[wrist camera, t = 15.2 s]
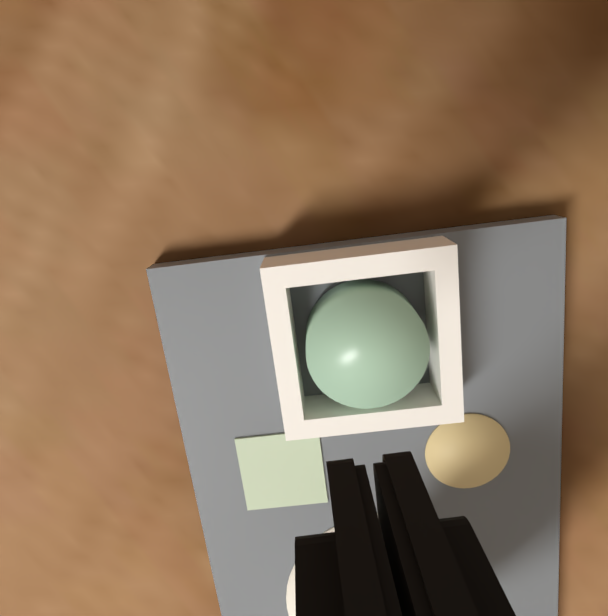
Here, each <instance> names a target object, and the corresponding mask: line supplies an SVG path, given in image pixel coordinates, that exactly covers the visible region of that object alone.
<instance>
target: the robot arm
mask: <svg viewBox="0 0 608 616" xmlns="http://www.w3.org/2000/svg"><path fill="white" fill-rule="evenodd" d="M326 465H327V473H328V481H329V489H330V497H331V506H332V514H333V522H334V530H335V532H330V533H322V534H313V535H305V536H297V537H295V605H296V616H516V615H515V613H514V611H513V609H512V607H511V605H510V603H509V601H508V599H507V596H506V594H505V592H504V590H503V588H502V586H501V584H500V582H499V580H498V578H497V576H496V574H495V572H494V570H493V568H492V566H491V564H490V562H489V560H488V558H487V556H486V554H485V552H484V550H483V548H482V546H481V544H480V542H479V540H478V538H477V536H476V534H475V532H474V530H473V528H472V526H471V524H470V522H469V521H468V519H467V518H466V517H465V516H458V517H450V518H442V519H439V518H438V516H437V513H436V511H435V508H434V506H433V504H432V501H431V499H430V496H429V494H428V491H427V489H426V487H425V484H424V482H423V479H422V477H421V475H420V472H419V470H418V467H417V465H416V462H415V460H414V458H413V455H412V453H411V452H410V451H405V452H397V453H389V454H383V455H382V462H379V463H373V471H374V481H375V491H376V501H377V511H378V515H377V511H376V507H375V503H374V499H373V495H372V491H371V487H370V483H369V479H368V475H367V471H366V467H365V464H363V465H354V460H353V458H350V459H342V460H334V461H326Z"/></svg>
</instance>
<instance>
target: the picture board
mask: <svg viewBox="0 0 608 616" xmlns="http://www.w3.org/2000/svg"><path fill="white" fill-rule="evenodd" d="M565 260H566V218H565V217H561V216H557V215H548V216H539V217H531V218H523V219H515V220H507V221H499V222H491V223H482V224H474V225H466V226H458V227H450V228H442V229H434V230H425V231H417V232H409V233H401V234H393V235H385V236H377V237H368V238H360V239H352V240H344V241H336V242H328V243H320V244H311V245H303V246H295V247H287V248H279V249H271V250H263V251H254V252H246V253H238V254H230V255H222V256H214V257H206V258H197V259H189V260H181V261H173V262H165V263H157V264H153V265H151V266H150V267H149V268H147V269H146V271H147V276H148V280H149V285H150V289H151V294H152V298H153V303H154V308H155V312H156V317H157V321H158V326H159V331H160V335H161V340H162V344H163V349H164V354H165V358H166V363H167V367H168V372H169V376H170V381H171V386H172V390H173V395H174V399H175V404H176V409H177V413H178V418H179V422H180V427H181V432H182V436H183V441H184V445H185V450H186V454H187V459H188V464H189V468H190V473H191V477H192V482H193V487H194V491H195V496H196V500H197V505H198V510H199V514H200V519H201V523H202V528H203V532H204V537H205V542H206V546H207V551H208V555H209V560H210V565H211V569H212V574H213V578H214V583H215V588H216V592H217V597H218V601H219V606H220V610H221V615H222V616H296V605H295V537H297V536H305V535H313V534H322V533H330V532H335V530H334V522H333V514H332V506H331V497H330V489H329V481H328V473H327V465H326V461H334V460H342V459H350V458H353V460H354V465H363V464H365V467H366V471H367V475H368V479H369V483H370V487H371V491H372V495H373V499H374V503H375V507H376V511H377V501H376V491H375V481H374V471H373V463H379V462H382V455H383V454H389V453H397V452H405V451H410V452H411V453H412V455H413V458H414V460H415V462H416V465H417V467H418V470H419V472H420V475H421V477H422V479H423V482H424V484H425V487H426V489H427V491H428V494H429V496H430V499H431V501H432V504H433V506H434V508H435V511H436V513H437V516H438V518H439V519H442V518H450V517H458V516H465V517H466V518H467V519H468V521H469V522H470V524H471V526H472V528H473V530H474V532H475V534H476V536H477V538H478V540H479V542H480V544H481V546H482V548H483V550H484V552H485V554H486V556H487V558H488V560H489V562H490V564H491V566H492V568H493V570H494V572H495V574H496V576H497V578H498V580H499V582H500V584H501V586H502V588H503V590H504V592H505V594H506V596H507V599H508V601H509V603H510V605H511V607H512V609H513V611H514V613H515V615H516V616H558V585H559V538H560V492H561V446H562V399H563V353H564V307H565ZM358 279H370V280H376V281H380V282H383V283H386V284H388V285H390V286H392V287H394V288H395V289H397V290H398V291H400V292H401V293H402V294H403V295H404V296H405V297H406V298H407V300H408V301H409V302H410V304H411V305H412V307H413V308H414V310H415V311H416V312H417V314H418V315H419V317H420V318H421V320H422V322H423V323H424V325H425V328H426V330H427V333H428V336H429V342H430V356H429V362H428V365H427V368H426V371H425V373H424V375H423V377H422V378H421V380H420V381H419V383H418V384H417V385H416V386H415V388H414V389H413V390H412V391H411V392H409V393H408V394H407V395H406V396H404V397H403V398H401V399H400V400H398V401H396V402H394V403H392V404H389V405H386V406H383V407H378V408H370V409H361V408H354V407H349V406H346V405H343V404H340V403H338V402H336V401H334V400H333V399H331V398H329V397H328V396H327V395H326V394H324V393H323V392H322V391H321V390H320V389H319V388H318V386H317V385H316V384H315V382H314V381H313V379H312V377H311V375H310V373H309V370H308V367H307V362H306V326H307V321H308V318H309V315H310V313H311V311H312V309H313V307H314V305H315V304H316V303H317V301H318V300H319V299H320V298H321V297H322V296H323V295H324V294H325V293H326V292H327V291H329V290H330V289H332V288H333V287H335V286H337V285H339V284H341V283H344V282H347V281H351V280H358ZM377 515H378V511H377Z"/></svg>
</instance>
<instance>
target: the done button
mask: <svg viewBox="0 0 608 616" xmlns="http://www.w3.org/2000/svg"><path fill="white" fill-rule="evenodd" d="M429 356H430V342H429V336H428V333H427V330H426V328H425V325H424V323H423V322H422V320H421V318H420V317H419V315H418V314H417V312H416V311H415V310H414V308H413V307H412V305H411V304H410V302H409V301H408V300H407V298H406V297H405V296H404V295H403V294H402V293H401V292H400V291H398V290H397V289H395V288H394V287H392V286H390V285H388V284H386V283H383V282H380V281H376V280H370V279H358V280H351V281H347V282H344V283H341V284H339V285H337V286H335V287H333V288H332V289H330V290H329V291H327V292H326V293H325V294H324V295H323V296H322V297H321V298H320V299H319V300H318V301H317V303H316V304H315V305H314V307H313V309H312V311H311V313H310V315H309V318H308V321H307V326H306V362H307V367H308V370H309V373H310V375H311V377H312V379H313V381H314V382H315V384H316V385H317V386H318V388H319V389H320V390H321V391H322V392H323V393H324V394H326V395H327V396H328V397H329V398H331V399H333V400H334V401H336V402H338V403H340V404H343V405H346V406H349V407H354V408H361V409H370V408H378V407H383V406H386V405H389V404H392V403H394V402H396V401H398V400H400V399H401V398H403V397H404V396H406V395H407V394H408V393H409V392H411V391H412V390H413V389H414V388H415V386H416V385H417V384H418V383H419V381H420V380H421V378H422V377H423V375H424V373H425V371H426V368H427V365H428V362H429Z"/></svg>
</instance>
